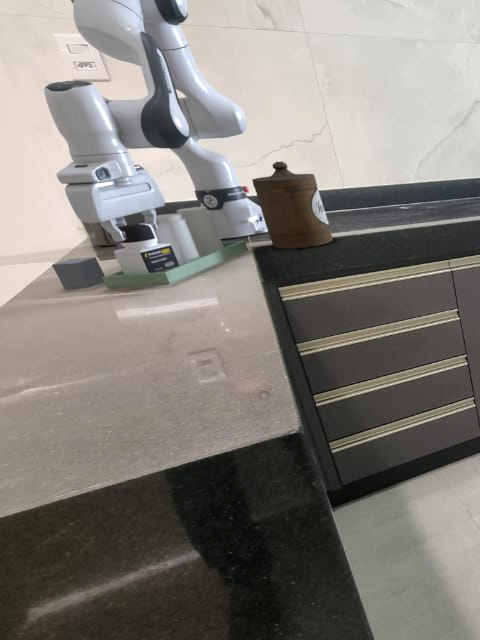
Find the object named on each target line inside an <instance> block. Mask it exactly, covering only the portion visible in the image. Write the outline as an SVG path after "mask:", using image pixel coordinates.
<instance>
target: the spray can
mask: <svg viewBox="0 0 480 640" xmlns="http://www.w3.org/2000/svg"><path fill="white" fill-rule="evenodd" d="M115 220H116V222H117V224H115V225H116V226H117V227H120V226H124V225H128V224H127V221H126V219H125V216H123V217H120V218H116V219H115ZM88 224H89V226H90V229H91V231H92V233H93V235H94V237H95V238H96V241H97V243H98V246H116V245H120V244H121V242H120V241H114V240H113V238H112V236H111V234H110V233H109V232H108V231H106V230H105V229H104V228H103V227H102V226H101V224H100V222H98V223H88Z"/></svg>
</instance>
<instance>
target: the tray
mask: <svg viewBox="0 0 480 640" xmlns="http://www.w3.org/2000/svg"><path fill="white" fill-rule="evenodd" d="M221 242H222V244H223V247H224V248H223V249H220V250H218V251H215V252H213V253H210V254H208V255H205V256H203V257H200V258H198V259H195V260H193V261H190V262H188V263H185V264H183V265H180V266H178V267H175V268H173V269H170V270H168V271H165V272H157V273H143V274H129V275H124V273H123V271H122V269H121V270H118V271H116V272H112V273H109V274H107V275H105V276H104V277H102V279H103V281H104V282H103V283H104V285H105V287H106V288H107V289H120V288H135V287H147V286H148V287H149V286H162V285H171V284H174V283H176V282H179V281H180V280H183V279H186V278H187V277H190V276H192V275H195V274H196V273H199V272H201V271H203V270H206V269H208V268H210V267H212V266H215V265H217V264H219V263H222V262H224V261H226V260H229V259H231V258H233V257H235V256H238V255H241V254H242V253H245V252H247V251H249V248H248V246H247V243H246V241H245V240H233V241H221Z"/></svg>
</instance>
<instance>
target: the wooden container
mask: <svg viewBox="0 0 480 640" xmlns="http://www.w3.org/2000/svg"><path fill="white" fill-rule="evenodd" d="M272 168H273V169H274V172H273V174H271V175H269V176H262V177H256V178H252V180H251V181H252V186H253V188H254V192H255V193H256V197H257V200H258V203H259V206H260V207H261V210H262V213H263V217H264V220H265V223H266V226H267V229H268V232H267V233H268V235H269V237H270V241H271V244H272V246H273V248H277V249H296V250H300V249H301V250H302V249H307V248H314V247H318V246H322V245H326V244H329V243H331V242H332V241H333V240H334V237H333V235H332V231H331V228H330V224H329V220H328V217H327V213H326V210H325V206H324V204H323V201H322V197H321V193H320V191H319V188H318V183H317V180H316V176H315V174H313V173H293V172H292V171H290V170H289V169H288V164H287V163H286V162H284V161H275V162H274V163H273V164H272Z"/></svg>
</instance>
